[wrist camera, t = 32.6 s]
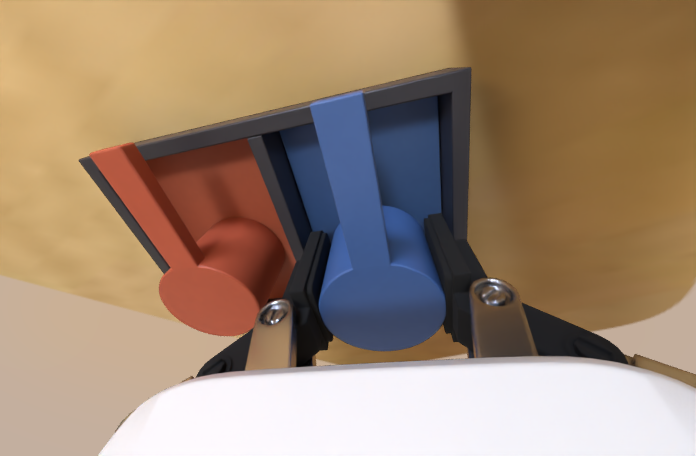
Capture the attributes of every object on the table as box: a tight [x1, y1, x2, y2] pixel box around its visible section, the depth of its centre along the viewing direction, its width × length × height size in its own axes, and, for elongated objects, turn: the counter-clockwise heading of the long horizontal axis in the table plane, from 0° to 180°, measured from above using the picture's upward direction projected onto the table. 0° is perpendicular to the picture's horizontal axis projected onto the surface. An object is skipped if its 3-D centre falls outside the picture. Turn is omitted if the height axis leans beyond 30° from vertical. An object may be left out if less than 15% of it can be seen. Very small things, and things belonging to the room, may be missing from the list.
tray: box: [79, 67, 471, 331], centre depth 13 cm, size 15×11×2 cm
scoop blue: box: [310, 90, 446, 351], centre depth 9 cm, size 4×9×4 cm, turn 12°
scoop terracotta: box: [89, 143, 285, 336], centre depth 12 cm, size 4×9×4 cm, turn 12°
